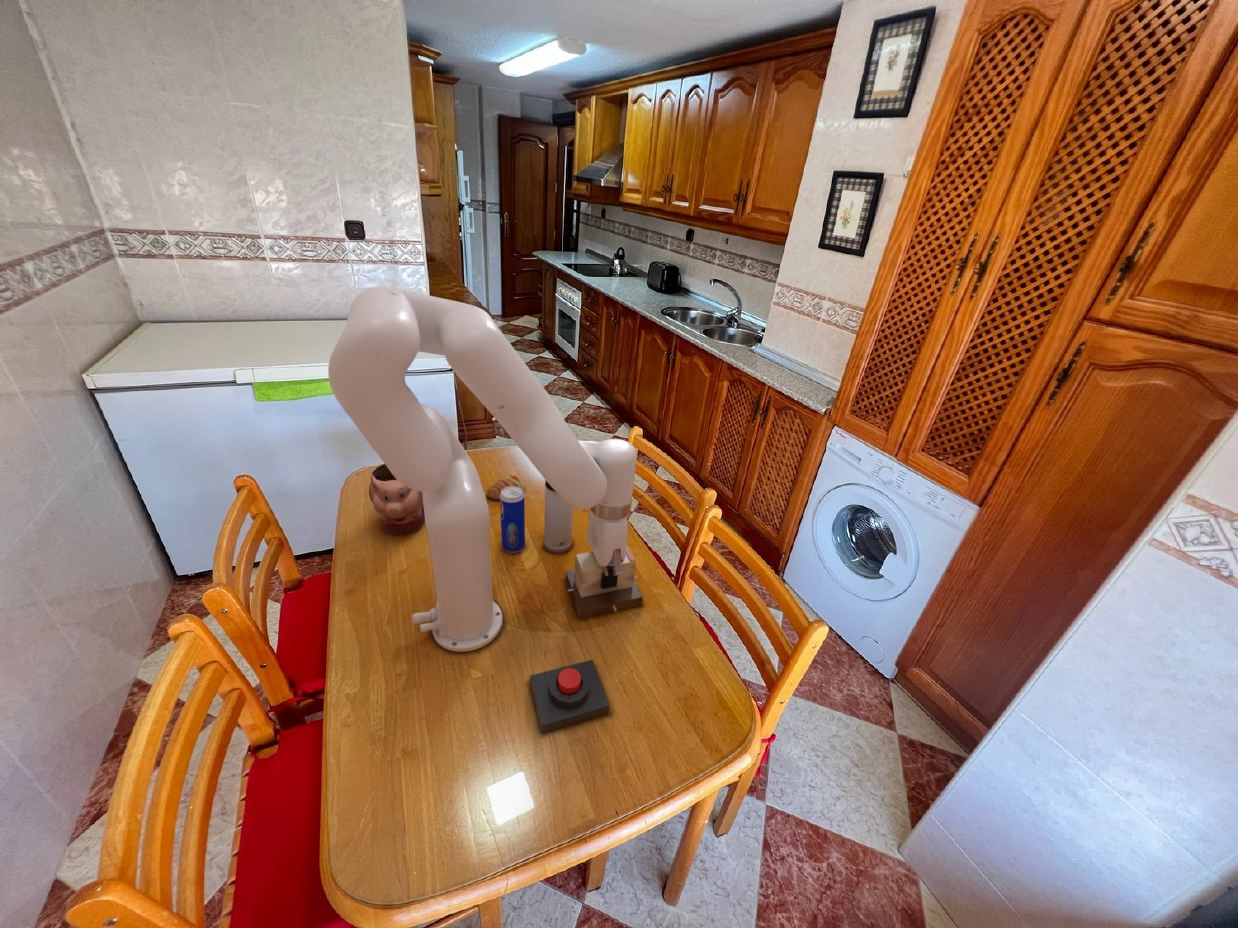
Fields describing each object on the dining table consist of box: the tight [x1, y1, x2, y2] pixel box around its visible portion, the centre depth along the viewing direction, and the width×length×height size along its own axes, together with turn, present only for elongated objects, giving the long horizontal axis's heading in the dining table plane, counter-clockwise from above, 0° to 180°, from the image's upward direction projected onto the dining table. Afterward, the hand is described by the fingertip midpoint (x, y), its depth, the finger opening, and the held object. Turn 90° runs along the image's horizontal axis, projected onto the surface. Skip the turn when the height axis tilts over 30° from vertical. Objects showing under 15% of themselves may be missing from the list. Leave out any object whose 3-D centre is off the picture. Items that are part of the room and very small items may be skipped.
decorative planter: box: [368, 463, 425, 534], centre depth 114 cm, size 20×12×14 cm, turn 23°
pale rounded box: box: [574, 545, 637, 598], centre depth 100 cm, size 11×5×7 cm, turn 110°
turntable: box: [564, 569, 643, 620], centre depth 102 cm, size 15×15×3 cm
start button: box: [558, 668, 581, 695], centre depth 79 cm, size 4×4×2 cm
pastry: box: [486, 474, 525, 501], centre depth 129 cm, size 9×7×4 cm
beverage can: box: [499, 486, 526, 554], centre depth 109 cm, size 5×5×15 cm
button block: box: [529, 659, 611, 734], centre depth 81 cm, size 11×9×4 cm
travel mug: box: [543, 479, 574, 554], centre depth 109 cm, size 6×7×20 cm
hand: (604, 576), depth 100 cm, fingers closed on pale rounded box, 5 cm apart
